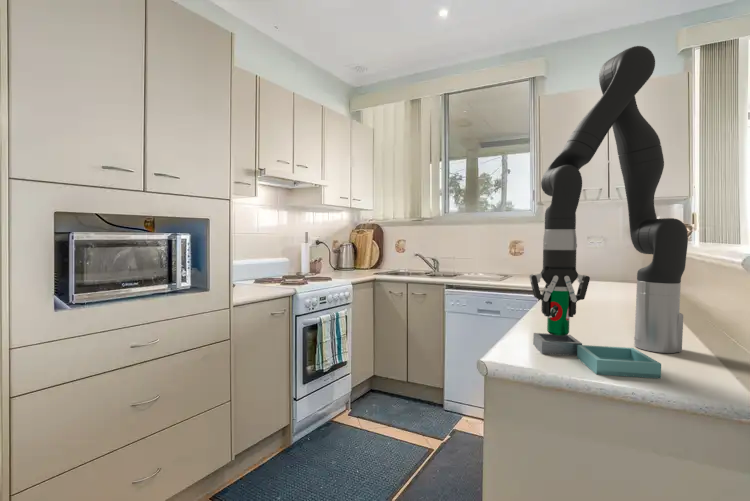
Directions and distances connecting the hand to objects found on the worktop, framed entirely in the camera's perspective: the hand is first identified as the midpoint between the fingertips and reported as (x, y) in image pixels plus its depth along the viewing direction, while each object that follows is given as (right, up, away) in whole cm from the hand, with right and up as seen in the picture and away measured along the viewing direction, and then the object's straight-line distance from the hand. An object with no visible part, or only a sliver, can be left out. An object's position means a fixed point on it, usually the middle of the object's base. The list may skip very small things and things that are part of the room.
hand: (558, 315), depth 102 cm
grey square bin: (0, -9, 0) cm, 9 cm away
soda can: (0, -5, 0) cm, 5 cm away
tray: (+7, -9, -13) cm, 17 cm away
